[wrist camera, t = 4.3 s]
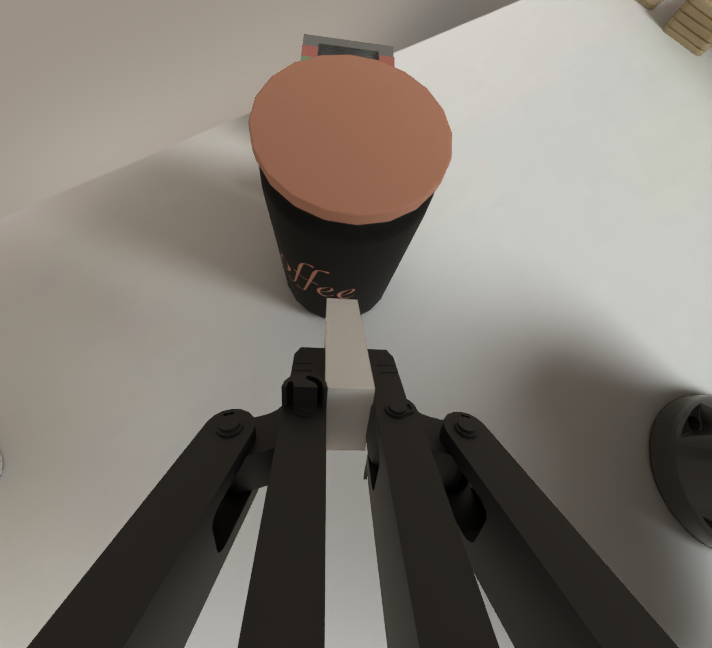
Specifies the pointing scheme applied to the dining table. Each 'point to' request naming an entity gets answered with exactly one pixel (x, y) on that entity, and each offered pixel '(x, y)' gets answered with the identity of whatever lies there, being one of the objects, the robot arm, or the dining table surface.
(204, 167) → the dining table surface
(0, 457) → the supplement bottle
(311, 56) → the gauge housing
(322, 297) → the coffee jar
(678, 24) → the pile of dominoes
